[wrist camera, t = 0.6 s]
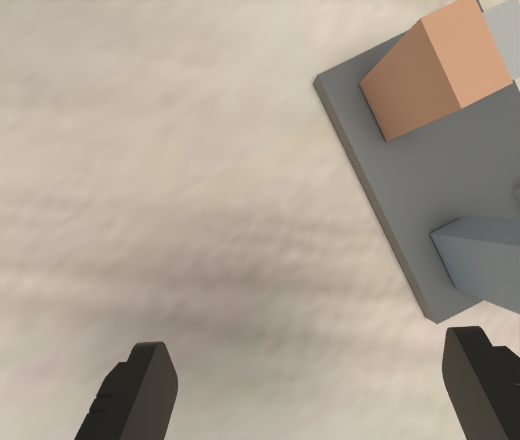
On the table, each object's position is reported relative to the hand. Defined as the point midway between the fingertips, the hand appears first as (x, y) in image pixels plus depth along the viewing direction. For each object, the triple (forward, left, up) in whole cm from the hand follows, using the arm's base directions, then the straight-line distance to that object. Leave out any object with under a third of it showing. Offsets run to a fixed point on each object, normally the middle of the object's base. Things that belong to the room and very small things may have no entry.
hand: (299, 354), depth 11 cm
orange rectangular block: (-7, +14, -18) cm, 24 cm away
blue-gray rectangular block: (+6, +14, -18) cm, 24 cm away
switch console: (0, +17, -21) cm, 27 cm away
